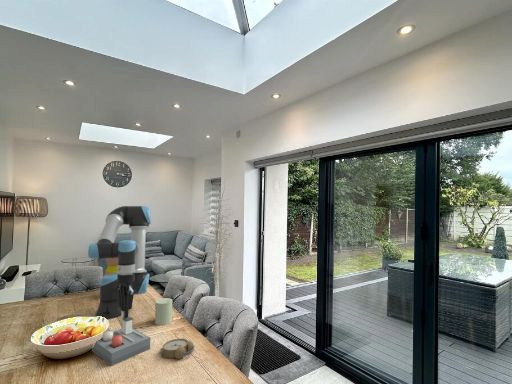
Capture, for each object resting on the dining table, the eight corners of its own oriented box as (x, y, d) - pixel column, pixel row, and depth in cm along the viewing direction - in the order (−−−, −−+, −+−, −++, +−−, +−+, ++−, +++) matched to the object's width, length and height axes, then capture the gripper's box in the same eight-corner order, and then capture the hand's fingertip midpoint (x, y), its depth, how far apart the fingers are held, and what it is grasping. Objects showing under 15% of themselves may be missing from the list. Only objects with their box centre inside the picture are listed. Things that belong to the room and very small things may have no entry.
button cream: (101, 341, 122) (101, 332, 122) (110, 338, 125) (110, 329, 126) (105, 344, 120) (105, 334, 120) (114, 340, 123) (114, 331, 123)
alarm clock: (175, 337, 130) (199, 338, 123) (176, 348, 129) (201, 350, 122) (156, 347, 120) (181, 349, 113) (157, 359, 119) (183, 362, 112)
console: (91, 350, 122) (91, 337, 122) (128, 336, 136) (129, 324, 136) (111, 365, 111) (112, 351, 111) (150, 348, 124) (150, 336, 124)
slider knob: (122, 333, 128) (122, 318, 128) (128, 330, 130) (129, 316, 131) (125, 335, 126) (126, 320, 126) (132, 332, 128) (132, 318, 129)
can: (166, 326, 148) (167, 303, 148) (151, 324, 150) (151, 302, 150) (175, 319, 157) (175, 297, 157) (160, 317, 159) (160, 296, 159)
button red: (109, 347, 117) (109, 337, 118) (119, 343, 121) (119, 334, 121) (114, 350, 115) (114, 340, 115) (123, 346, 118) (123, 336, 118)
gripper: (111, 272, 132) (110, 322, 131) (125, 276, 124) (123, 330, 123) (127, 269, 138) (125, 317, 136) (140, 273, 130) (139, 324, 129)
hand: (124, 323), depth 130 cm, fingers closed
